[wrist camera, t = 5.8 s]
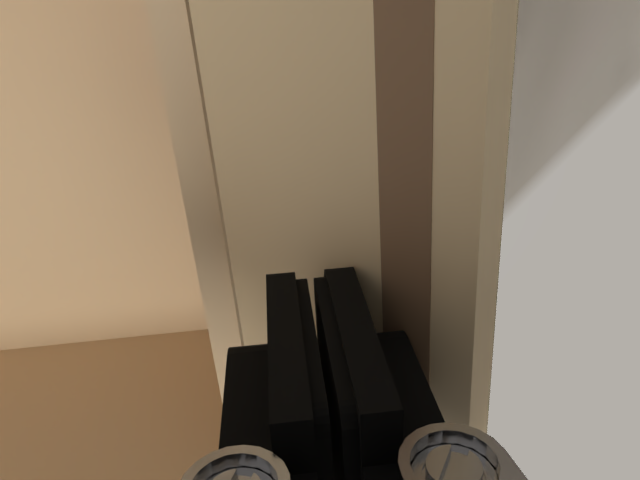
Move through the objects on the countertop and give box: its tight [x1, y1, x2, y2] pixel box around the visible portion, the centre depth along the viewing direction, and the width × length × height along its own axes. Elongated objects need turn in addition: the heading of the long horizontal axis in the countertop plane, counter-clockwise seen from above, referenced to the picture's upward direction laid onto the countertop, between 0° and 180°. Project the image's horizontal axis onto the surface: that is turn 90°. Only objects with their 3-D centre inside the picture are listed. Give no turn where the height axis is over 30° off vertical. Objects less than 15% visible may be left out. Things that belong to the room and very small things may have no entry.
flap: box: [189, 0, 519, 434], centre depth 11 cm, size 1×17×6 cm
